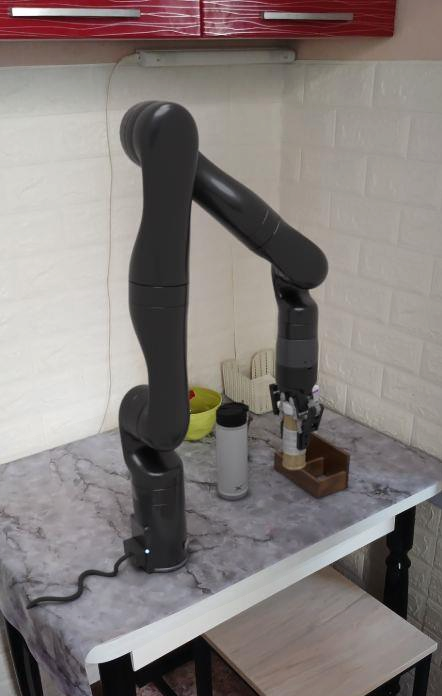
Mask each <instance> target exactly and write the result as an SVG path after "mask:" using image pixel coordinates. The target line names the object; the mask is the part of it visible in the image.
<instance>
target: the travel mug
mask: <svg viewBox="0 0 442 696" xmlns="http://www.w3.org/2000/svg"><path fill="white" fill-rule="evenodd" d="M249 410H250V406H249V405H248V404H245V402H244V403H242V402H241V401H240V402H239V401H233V402H231V401H230V402H226V403H223V404H221V405H219V406H217V408H216V410H215V442H216V443H215V444H216V478H217V494H218V496H219V497H220V498H221V499H223V500H227V501H238V500H241V499H244V498H245V497H246V496H247V495H248V494H249V493H248V492H249V487H248V485H249V481H248V478H249V477H248V473H249V472H248V471H249V470H248V469H249V468H248V461H249V460H248V456H249V454H248V436H247V413H248V412H249Z"/></svg>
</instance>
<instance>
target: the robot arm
mask: <svg viewBox="0 0 442 696" xmlns="http://www.w3.org/2000/svg"><path fill="white" fill-rule="evenodd" d="M118 132H119V133H118V134H119V141H120V145H121V148H122V150H123V152H124V154H125V156H127V158H128V159H129V161H131V162H132V163H133V164H135V166H137V167H138V168H140V169H141V177H142V178H141V179H142V181H141V182H142V211H141V217H140V218H141V219H140V223H139V227H138V231H137V234H136V237H135V241H134V244H133V247H132V251H131V254H130V258H129V264H128V275H127V276H128V277H127V279H128V281H127V282H128V283H127V285H128V288H127V289H128V291H127V292H128V293H127V294H128V301H127V302H128V303H127V304H128V312H129V317H130V320H131V324H132V328H133V331H134V334H135V337H136V339H137V341H138V344H139V347H140V350H141V352H142V355H143V358H144V361H145V366H146V372H147V384H145V383H142V384H138V385H134V386H133V387H131V388H130V389H129V390H127V392H126V393H125V394H124V395H123V397H122V399H121V401H120V404H119V408H118V415H117V419H118V420H117V421H118V431H119V437H120V438H119V439H120V445H121V450H122V457H123V462H124V464H125V466H126V468H127V470H128V473H129V478H130V488H131V497H132V509H133V512H132V513H130V514H129V522H130V531H131V537H129V538H126V539H123V540H122V544H123V552H124V555H122V556H121V557H119V558H118V559H117V560H116V561H115V563H114V565H113V570H112V571H111V572H106V571H102V570H99V569H86V570H84V571H82V572H81V574H79V575H78V579H77V591H76V592H75V593H74V594H71V595H68V596H51V595H50V596H49V595H47V596H39V597H36V598H34V599H32V601H30V602H29V603H27V605H26V607H25V610H30V609H32V608H33V607H34V606H35V605H37V604H39V603H42V602H57V603H58V602H61V603H62V602H64V603H66V602H71V601H75V600H76V599H78V598H79V597H80V596H81V595H82V594H83V591H84V578H85V577H87V576H88V575H89V576H90V575H94V576H95V575H96V576H99V577H106V578H112V577H115V576H117V575H118V573H119V567H120V565H121V564H122V563H123V562H124V561H126V560H127V559H129V560H130V561H131V562H132V563H133V564H134V566H135V567H136V568H138V567H142V568H143V570H145V572H146V573H147V574H152V573H168V572H172V571H176V570H178V569H180V568H182V567H183V566H185V564H186V563H187V562H188V560H189V558H190V551H189V543H190V535H188V525H187V523H188V522H187V507H186V488H185V473H184V472H185V471H184V469H185V468H184V462H183V460H182V457H181V456H180V455H179V453H178V452H177V451H176V449H178V448H180V446H181V445H182V443H184V440H185V439H186V438H187V434H188V432H189V428H190V423H191V400H190V387H189V386H190V385H189V371H188V329H189V328H188V325H189V324H188V323H189V322H188V320H189V306H190V281H191V276H190V275H191V273H190V272H191V271H190V270H191V269H190V267H191V266H190V265H191V261H190V260H191V232H192V231H191V229H192V227H191V225H192V224H191V223H192V220H191V219H192V205H193V202H194V203H195V204H196V205H197V206H198V207H200V208H201V209H202V210H203V211H204V212H206V213H207V214H208V215H209V216H210V217H211V218H212V219H214V221H216V222H217V223H218V224H219V225H220V226H221V227H222V228H223V229H225V230H226V231H227V232H228V233H229V234H231V236H233V237H234V239H236V240H237V241H238V242H240V243H241V244H242V246H244V247H245V248H246V249H248V250H249V251H250V252H252V253H253V255H256V256H258V257H259V258H261V259H263V260H265V261H267V262H268V263H270V276H271V282H272V287H273V288H272V289H273V294H274V298H275V302H276V307H277V320H276V321H277V322H276V323H277V324H276V327H277V330H276V332H277V333H276V341H275V361H274V363H275V365H274V366H275V368H274V369H275V370H274V371H275V372H274V373H275V374H274V381H275V382H273V383H270V384H269V385H268V389H269V396H270V401H271V408H272V413H273V415H274V416H277V417H278V421H279V423H280V429H279V434H280V439H281V440H283V424H284V412H283V402H286V401H288V402H290V406H292V408H293V419H294V421H296V424H297V430H298V432H297V446H296V448H297V449H298V450H299V451H301V450H304V449H307V448H308V446H309V433H311V432H314V431H317V432H318V431H319V427H320V424H321V421H322V417H323V413H324V411H325V406H324V404H323V403H320V404H317V403H316V402H315V401H314V396H313V392H312V389H313V387H314V386H315V385H316V384H317V382H318V375H319V373H318V371H319V351H320V349H319V348H320V345H319V317H320V316H319V315H320V312H319V306H318V303H317V302H316V300H315V299H314V298H313V297H312V295H311V293H310V290H314V289H316V288H318V287H320V286H321V285H323V283H324V282H325V281H326V280H327V277H328V274H329V268H330V267H329V261H328V258H327V255H326V254H325V252H324V251H323V250H322V249H321V248H320V247H319V246H318V245H317V244H316V243H315V242H313V240H311V239H310V238H309V237H307V236H305V235H304V234H303V233H301V232H300V231H299V230H297V229H296V228H294V227H293V226H292V225H290V224H289V223H288V222H287V221H285V220H284V218H283V217H282V216H281V215H280V214H279V213H278V212H277V211H276V210H275V209H273V208H272V207H271V206H270V205H269V204H268V203H267V202H266V201H265V200H264V199H263V198H261V196H260V195H258V194H257V193H255V191H254V190H252V189H251V188H249V186H246V185H245V184H244V183H242V182H241V181H239V180H237V179H236V178H234V177H233V176H231V175H230V174H229V173H227V172H226V171H225V170H223V169H222V168H220V167H219V166H218V165H216V164H215V163H214V162H212V161H211V160H210V159H209V158H207V156H205V155H204V154H203V153H202V152H201V151H200V135H199V129H198V126H197V122H196V120H195V117H194V116H193V115H192V113H191V112H190V111H189V110H188V109H187V108H186V107H185V106H183V105H182V104H180V103H177V102H174V101H167V100H144V101H140V102H138V103H136V104H134V105H131V107H129V108H127V111H126V112H125V113H124V114H123V116H122V118H121V120H120V125H119V131H118ZM278 402H279V405H278ZM305 411H307V413H305V414H304V415H301V416H299V413H302V412H305ZM302 420H305V425H302ZM312 424H313V425H312ZM23 659H24V667H25V673H26V679H27V683H28V688H29V692H30V696H37V694H36V689H35V685H34V680H33V676H32V671H31V663H30V654H29V652H28V650H27V648H26V647H25V645H24V644H23Z"/></svg>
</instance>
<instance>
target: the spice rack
mask: <svg viewBox="0 0 442 696" xmlns="http://www.w3.org/2000/svg"><path fill="white" fill-rule="evenodd" d="M273 455H274V456H273V457H274V458H273V469H274V470H275V471H277V472H278V473H280V474H281V475H282V476H284V477H285V478H287V479H289V480H290V481H291V482H293V483H294V484H296V485H297V486H298V487H299V488H301V489H302V490H304V492H307V493H308V494H310V495H311V496H313V497H314V498H316V499H318V500H319V499H321V498H324V497H327V496H329V495H333V494H336V493H337V492H341V491H343V490H345V489H348V488H349V477H350V476H349V475H350V462H351V454H350V453H348V452H347V451H346V450H344V449H343V448H340V447H339V446H337V445H335V444H333V443H332V442H330V441H329V440H327V439H325V438H324V437H322V436H320V435H319V434H318V433H317V434H315V433H314V432H311V433H309V446H308V448H307V449H306V452H305V462H306V465H305V467H304V468H302V469H300V470H289V469H286V468H285V467H284V466H283V465H282V462H283V449H282V450H279V451H275V452H274V453H273ZM323 475H324V476H325V477H323V478H320V479H318V478H317V477H321V476H323Z"/></svg>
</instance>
